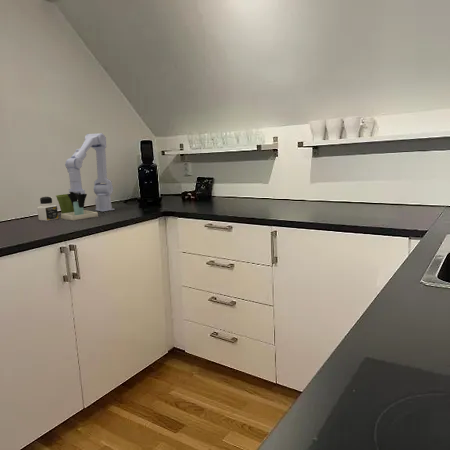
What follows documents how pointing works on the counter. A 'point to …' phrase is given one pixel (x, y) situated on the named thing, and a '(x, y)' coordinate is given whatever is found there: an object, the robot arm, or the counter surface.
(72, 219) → the cream tray
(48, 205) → the medicine bottle
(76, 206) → the pale teal cylinder
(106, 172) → the robot arm
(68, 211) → the plant pot
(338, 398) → the counter surface
